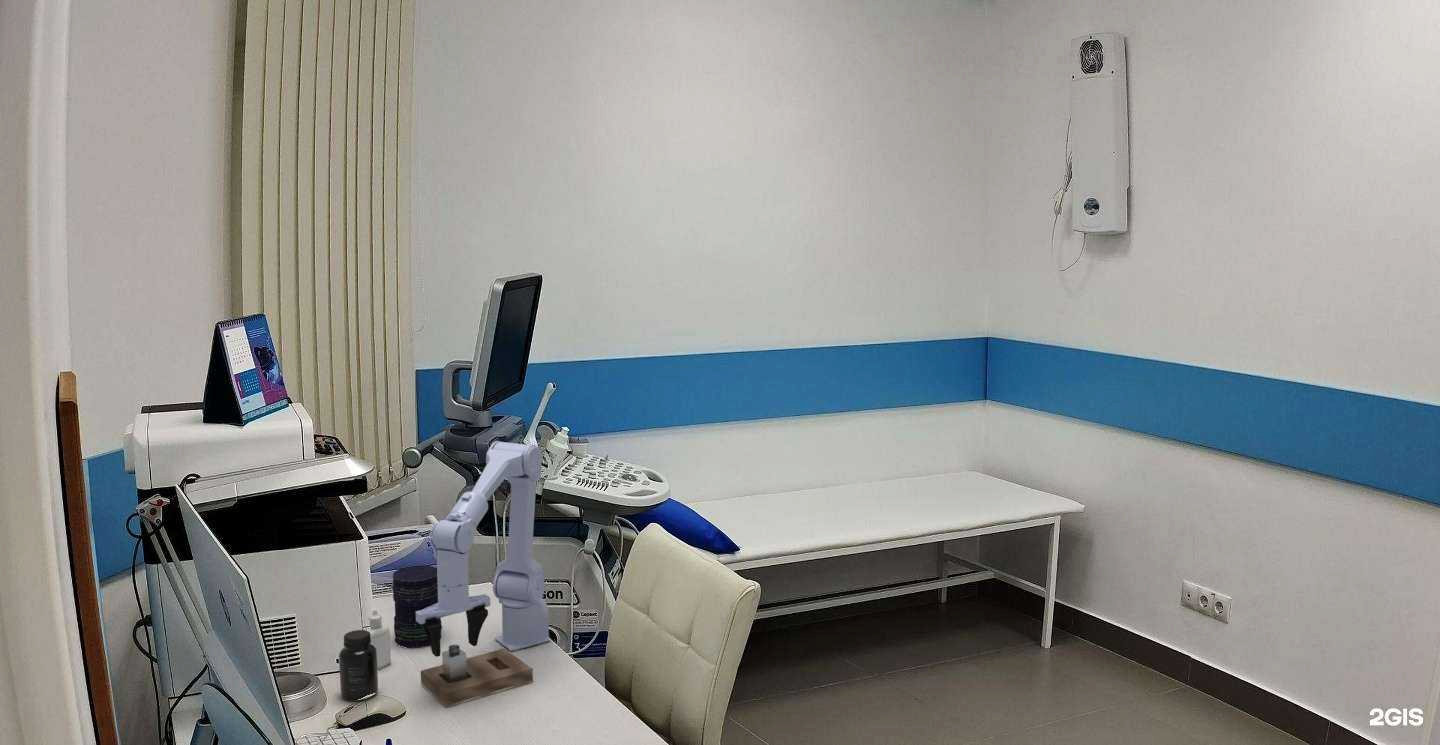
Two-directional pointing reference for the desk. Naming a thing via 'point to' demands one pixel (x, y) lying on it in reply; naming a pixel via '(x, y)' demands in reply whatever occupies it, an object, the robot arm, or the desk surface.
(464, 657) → the light grey upright block
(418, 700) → the desk surface
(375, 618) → the eye dropper bottle
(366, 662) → the supplement bottle
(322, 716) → the desk surface
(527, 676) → the socket board
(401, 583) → the storage jar
